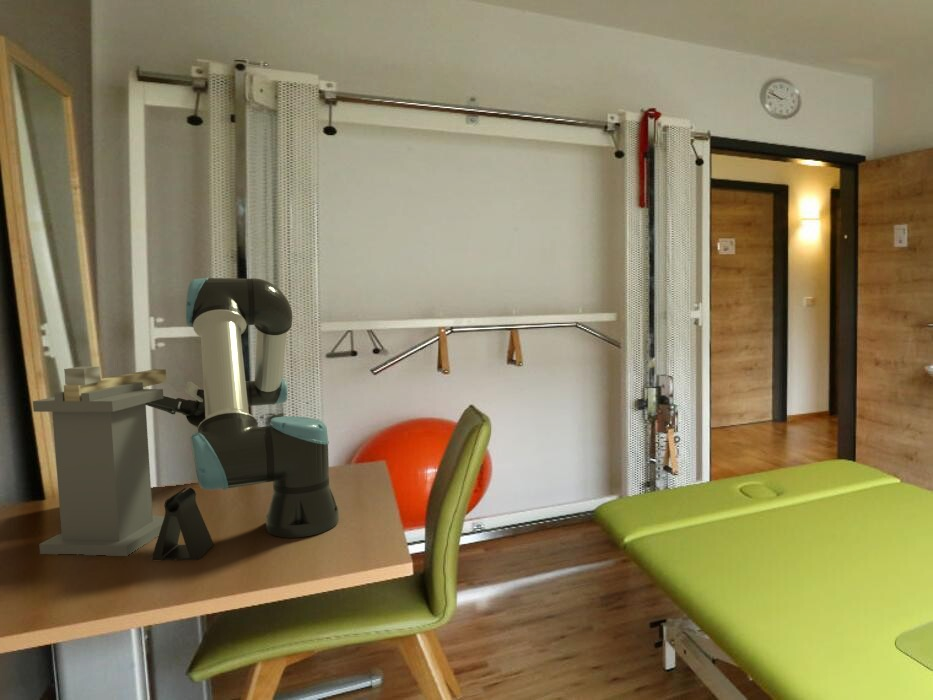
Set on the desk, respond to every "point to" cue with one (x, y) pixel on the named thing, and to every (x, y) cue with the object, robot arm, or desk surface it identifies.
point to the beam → (104, 380)
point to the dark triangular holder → (182, 529)
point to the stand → (102, 471)
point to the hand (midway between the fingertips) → (160, 386)
